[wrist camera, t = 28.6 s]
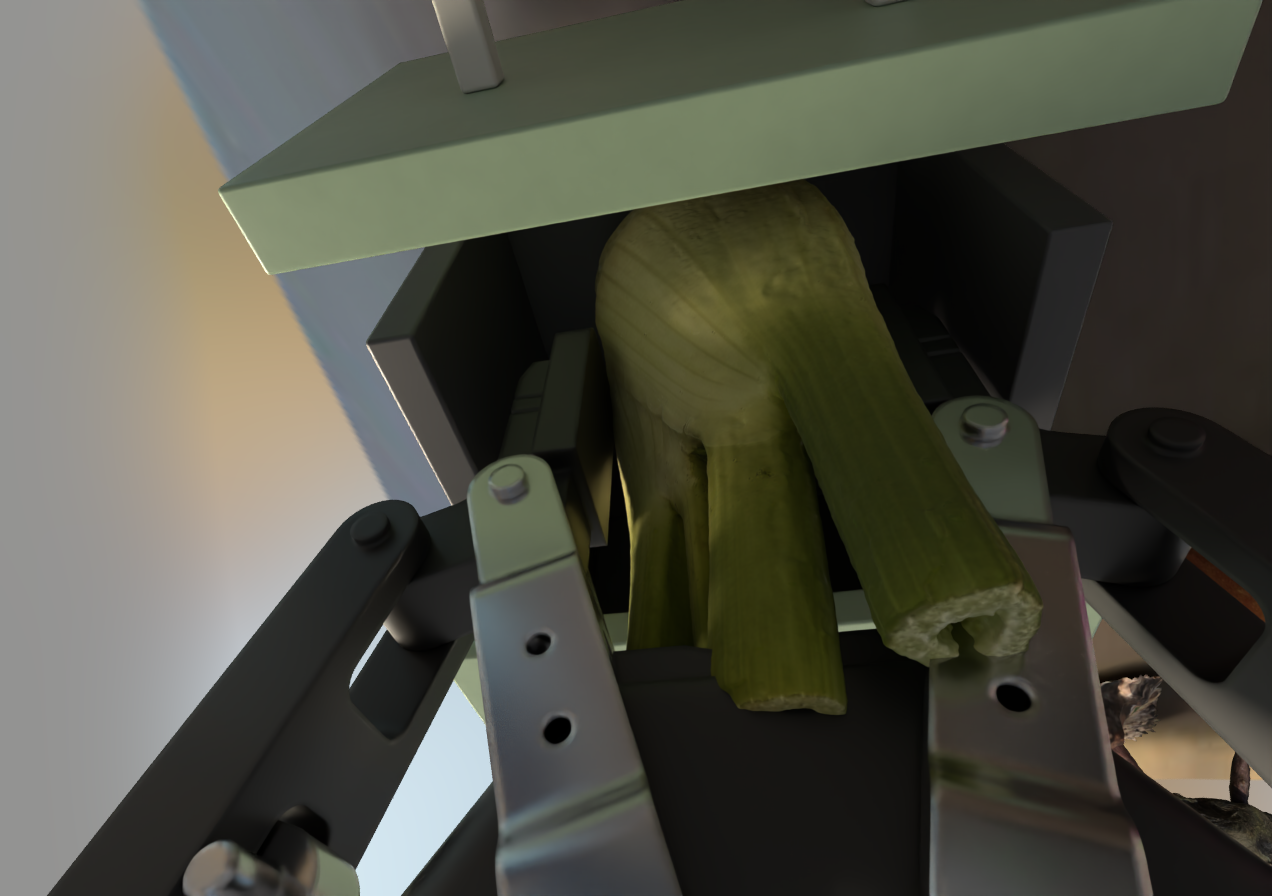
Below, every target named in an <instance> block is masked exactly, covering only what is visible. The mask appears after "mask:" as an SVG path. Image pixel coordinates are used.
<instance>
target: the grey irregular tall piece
mask: <svg viewBox="0 0 1272 896" xmlns="http://www.w3.org/2000/svg"><path fill="white" fill-rule="evenodd" d="M1162 681H1164V679H1161V677H1159V676H1153V677H1149V676H1148V675H1146V674H1145V675H1144V677H1142V676H1141V675H1140V677H1139V678H1138V679H1137V678H1135V677H1134V678H1133V680H1131V679H1129V678H1122V679H1120V680H1117V681H1116V680H1114V681H1106V682H1104V683H1101V684H1100V687H1101V693H1102V699H1103V704H1104V710H1105V716H1106V721H1107V727H1108V733H1109V738H1110V744H1111V749H1112V750H1113V751H1115V752H1116V753H1117V754H1119V755H1120V756H1121V757H1123V758H1124V759H1125V760H1127V761H1128V762H1130V763H1131V764H1132V765H1134V766H1135V767H1136V768H1138V769H1139V770H1141V771H1142V769H1141V768H1140V767H1139V766H1138V764H1137V763H1136V761H1135V760H1134V758H1133V757H1132V756H1131V755H1130V753H1129V752H1128V750H1127V749H1126V748H1125V747H1124V745H1123V744H1124V742H1125V740H1124V739H1132V740H1135V739H1134V737H1142V733H1143V734H1148V733H1147V732H1146V731H1145V730H1147V731H1152V732H1155V731H1154V730H1153V729H1152V728H1153V727H1154V726H1156V724H1155V723H1154V721H1161V720H1158V719H1156V718H1155V717H1157V716H1158V715H1156V716H1154V715H1155V713H1156V712H1157V710H1156V709H1154V708H1155V707H1157V703H1156V702H1157V700H1158V699H1156V698H1157V697H1158V696H1159V695H1160V693H1161V692H1159V691H1160V690H1161V689H1160V688H1157V687H1158V686H1159V685H1160V684H1161V682H1162ZM1162 683H1163V682H1162ZM1135 741H1136V740H1135ZM1125 743H1126V742H1125ZM1142 772H1143V771H1142ZM1143 773H1144V772H1143ZM1249 787H1250V768H1249V765H1248V764H1247V763H1246V762H1245V761H1244V760H1243V759H1242V758H1241V757H1240V756H1239V755H1238V754H1237V753H1236V752H1235V755H1234V757H1233V760H1232V766H1231V774H1230V785H1229V791H1230V798H1231V799H1230V800H1231V802H1230V801H1227V800H1222V799H1213V798H1186V797H1183V796H1181V795H1180V794H1178V793H1172V794H1174V795H1175V796H1176V797H1178V798H1179V799H1180V800H1182V801H1183V802H1184V803H1186V804H1187V805H1189V806H1190V807H1191V808H1193V809H1194V810H1195V811H1197V812H1198V813H1200V814H1201V815H1202V816H1204V817H1205V818H1206V819H1208V820H1209V821H1211V822H1212V823H1213V824H1215V825H1216V826H1217V827H1219V828H1220V829H1222V830H1223V831H1224V832H1226V833H1227V834H1228V835H1230V836H1231V837H1233V838H1234V839H1235V840H1237V841H1238V842H1239V843H1241V844H1242V845H1244V846H1245V847H1246V848H1248V849H1249V850H1250V851H1252V852H1253V853H1255V854H1256V855H1257V856H1259V857H1260V858H1261V859H1263V860H1264V861H1266V862H1267V863H1268V864H1270V865H1271V866H1272V814H1269V813H1267V812H1262V811H1261V810H1259V809H1257V808H1256V807H1253V806H1251V805H1249V804H1248V797H1249Z"/></svg>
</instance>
